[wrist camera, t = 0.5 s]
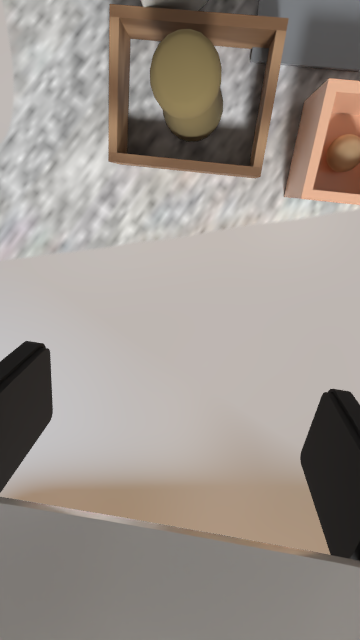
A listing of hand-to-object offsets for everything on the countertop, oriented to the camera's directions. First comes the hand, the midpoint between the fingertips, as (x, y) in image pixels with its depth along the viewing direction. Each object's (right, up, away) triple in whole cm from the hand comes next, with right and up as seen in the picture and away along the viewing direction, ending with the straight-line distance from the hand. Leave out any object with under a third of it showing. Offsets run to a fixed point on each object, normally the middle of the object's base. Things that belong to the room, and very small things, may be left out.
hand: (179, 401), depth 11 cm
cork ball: (+16, +19, +19) cm, 31 cm away
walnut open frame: (+1, +24, +21) cm, 32 cm away
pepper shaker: (+1, +24, +21) cm, 32 cm away
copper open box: (+16, +19, +21) cm, 33 cm away
